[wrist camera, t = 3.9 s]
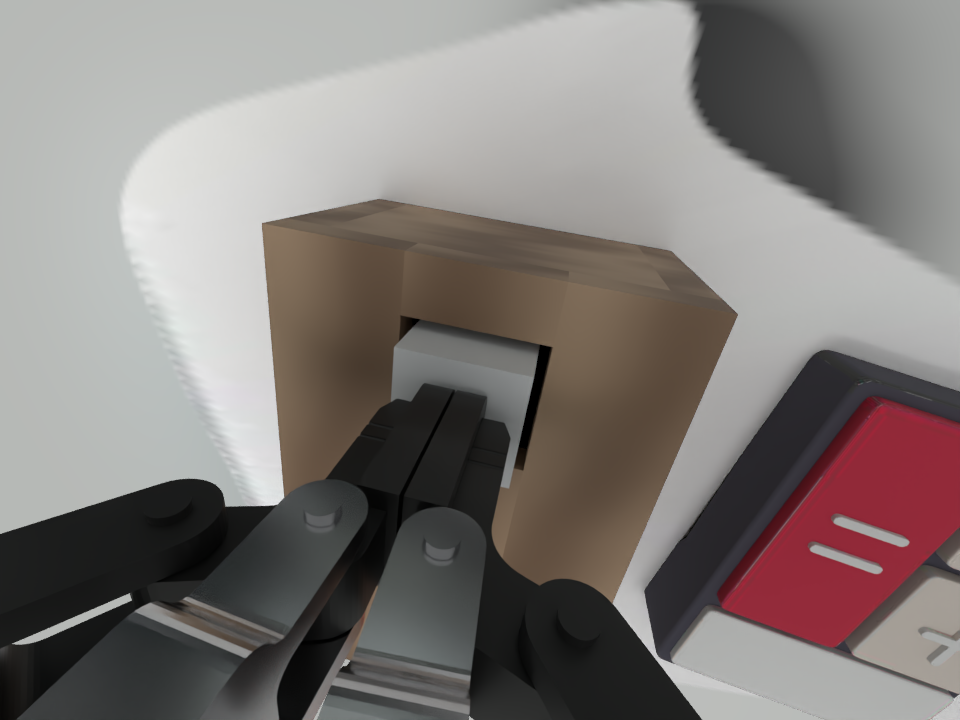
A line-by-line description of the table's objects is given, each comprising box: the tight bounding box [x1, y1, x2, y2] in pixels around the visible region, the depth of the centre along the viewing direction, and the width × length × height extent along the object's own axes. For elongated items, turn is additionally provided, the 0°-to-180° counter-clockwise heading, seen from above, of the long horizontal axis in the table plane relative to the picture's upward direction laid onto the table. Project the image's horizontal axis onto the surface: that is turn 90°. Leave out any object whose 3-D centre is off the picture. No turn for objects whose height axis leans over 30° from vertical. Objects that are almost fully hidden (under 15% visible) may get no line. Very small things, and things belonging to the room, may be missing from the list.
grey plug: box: [391, 319, 540, 489], centre depth 13 cm, size 3×3×7 cm
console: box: [262, 199, 738, 660], centre depth 17 cm, size 11×17×7 cm, turn 172°
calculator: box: [645, 350, 960, 720], centre depth 17 cm, size 11×4×15 cm
